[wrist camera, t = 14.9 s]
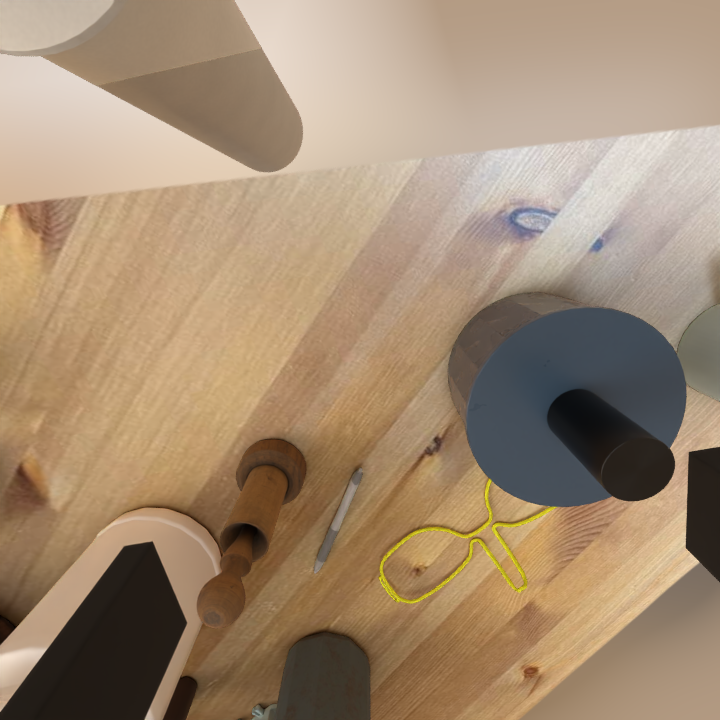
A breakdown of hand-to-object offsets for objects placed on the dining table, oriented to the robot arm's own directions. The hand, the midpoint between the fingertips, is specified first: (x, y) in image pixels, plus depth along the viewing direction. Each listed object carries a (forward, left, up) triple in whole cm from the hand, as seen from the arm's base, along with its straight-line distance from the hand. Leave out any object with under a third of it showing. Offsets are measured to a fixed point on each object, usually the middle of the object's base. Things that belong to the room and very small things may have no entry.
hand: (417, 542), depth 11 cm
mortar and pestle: (+14, -13, -30) cm, 36 cm away
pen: (+21, -8, -30) cm, 37 cm away
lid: (+8, +13, -20) cm, 25 cm away
